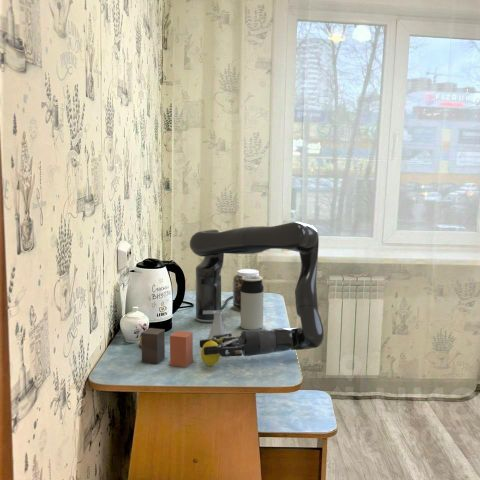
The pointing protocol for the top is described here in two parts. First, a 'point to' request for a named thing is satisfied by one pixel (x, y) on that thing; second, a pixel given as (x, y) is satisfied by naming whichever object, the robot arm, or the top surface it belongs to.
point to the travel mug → (252, 302)
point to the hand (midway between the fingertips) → (202, 347)
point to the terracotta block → (181, 348)
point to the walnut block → (153, 345)
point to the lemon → (211, 358)
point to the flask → (217, 325)
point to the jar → (237, 286)
